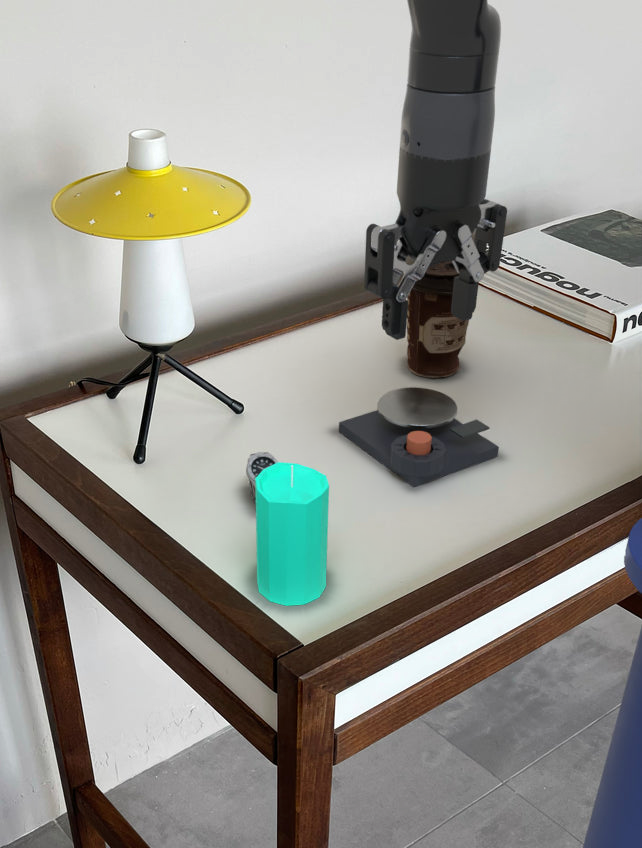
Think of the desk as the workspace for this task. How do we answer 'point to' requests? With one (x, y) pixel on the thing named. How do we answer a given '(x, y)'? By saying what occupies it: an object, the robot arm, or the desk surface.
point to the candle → (291, 533)
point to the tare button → (418, 443)
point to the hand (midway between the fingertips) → (428, 326)
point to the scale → (415, 469)
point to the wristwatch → (258, 468)
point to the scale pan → (424, 410)
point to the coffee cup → (434, 324)
